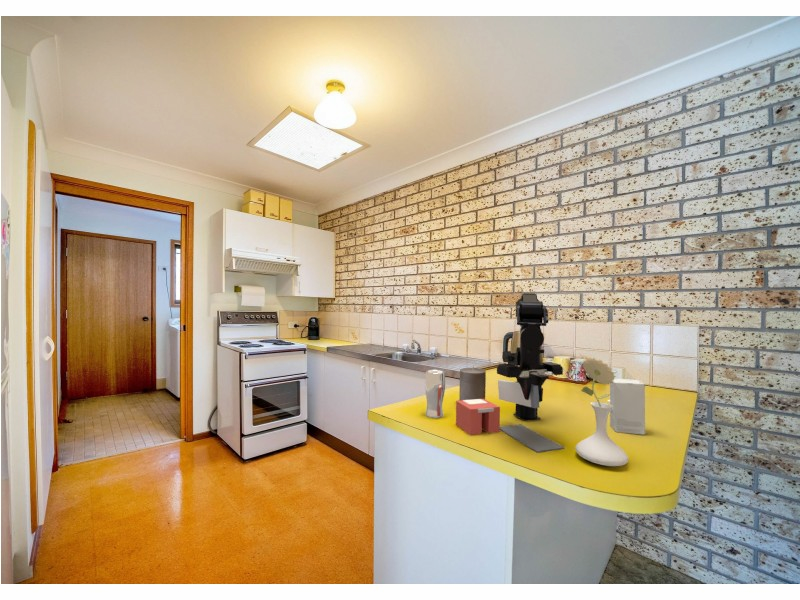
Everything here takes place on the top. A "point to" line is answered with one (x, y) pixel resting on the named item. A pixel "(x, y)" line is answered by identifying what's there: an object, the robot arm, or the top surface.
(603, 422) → the flower in vase
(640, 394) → the skincare box
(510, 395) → the grey rectangular bar
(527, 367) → the robot arm
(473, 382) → the pillar candle
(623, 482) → the top surface
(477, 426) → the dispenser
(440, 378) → the beer glass
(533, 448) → the mat
